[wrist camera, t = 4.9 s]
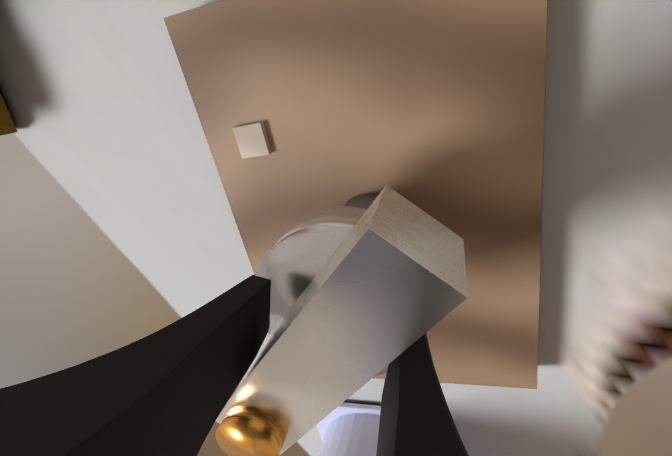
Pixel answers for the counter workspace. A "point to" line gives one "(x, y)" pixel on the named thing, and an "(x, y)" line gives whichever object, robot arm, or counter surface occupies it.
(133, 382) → the robot arm
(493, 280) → the plate
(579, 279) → the counter surface
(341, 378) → the lever with brass knob
